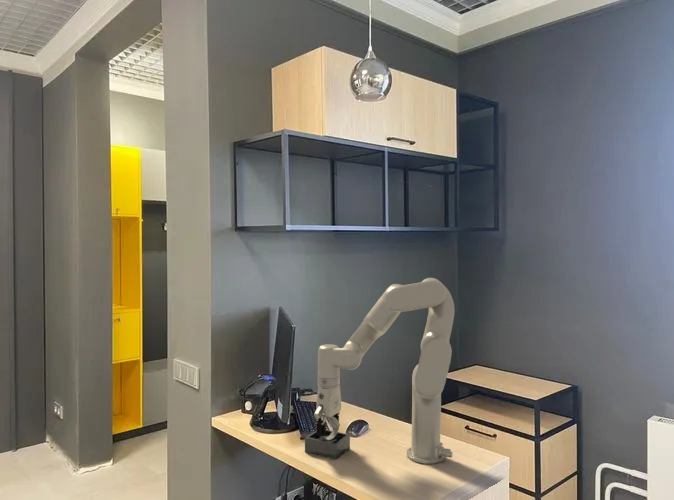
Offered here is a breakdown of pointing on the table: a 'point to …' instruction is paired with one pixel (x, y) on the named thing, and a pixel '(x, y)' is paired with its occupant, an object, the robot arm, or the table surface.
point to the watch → (335, 427)
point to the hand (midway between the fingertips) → (327, 430)
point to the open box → (327, 445)
